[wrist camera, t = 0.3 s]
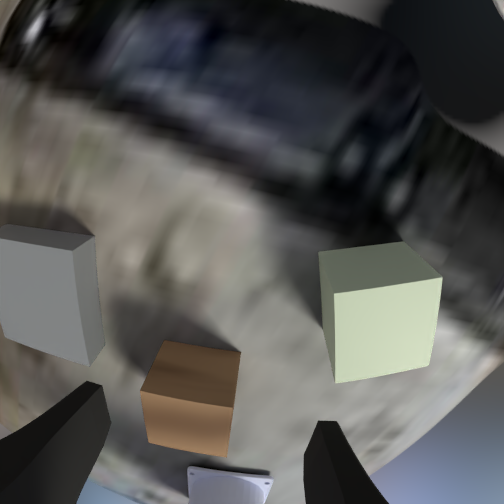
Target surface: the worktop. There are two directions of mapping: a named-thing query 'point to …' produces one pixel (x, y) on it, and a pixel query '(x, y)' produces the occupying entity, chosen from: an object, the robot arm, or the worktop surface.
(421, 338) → the sage cube
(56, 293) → the slate tile
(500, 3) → the white frog figurine
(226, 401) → the walnut cube
